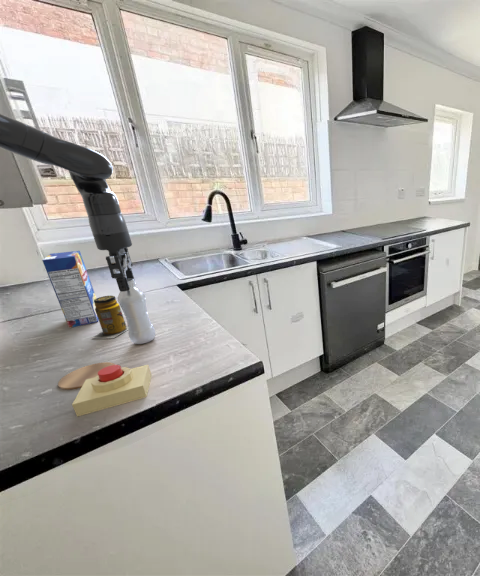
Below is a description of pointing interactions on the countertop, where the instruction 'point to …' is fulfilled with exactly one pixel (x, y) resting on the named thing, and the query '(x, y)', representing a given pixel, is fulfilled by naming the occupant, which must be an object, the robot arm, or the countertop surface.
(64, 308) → the blue cardboard box
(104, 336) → the condiment
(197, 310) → the countertop surface
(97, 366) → the coaster
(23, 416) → the countertop surface
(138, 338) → the plastic bottle
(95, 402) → the button base
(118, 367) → the red button cap
